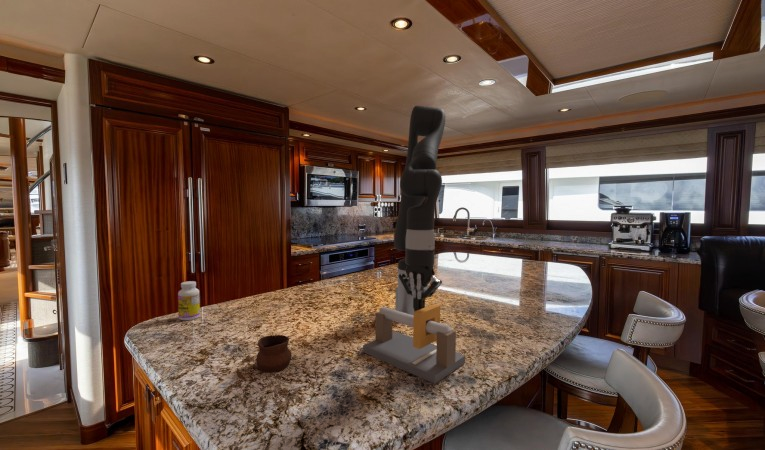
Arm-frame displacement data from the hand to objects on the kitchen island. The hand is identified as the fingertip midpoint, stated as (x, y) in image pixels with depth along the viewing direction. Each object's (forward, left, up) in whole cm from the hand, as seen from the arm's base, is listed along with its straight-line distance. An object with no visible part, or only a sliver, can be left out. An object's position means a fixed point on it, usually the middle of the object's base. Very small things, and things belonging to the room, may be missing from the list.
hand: (419, 311), depth 88 cm
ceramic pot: (-25, -28, -14) cm, 40 cm away
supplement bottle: (-79, -31, -13) cm, 86 cm away
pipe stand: (-2, 0, -13) cm, 13 cm away
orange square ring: (+3, 0, -8) cm, 8 cm away
